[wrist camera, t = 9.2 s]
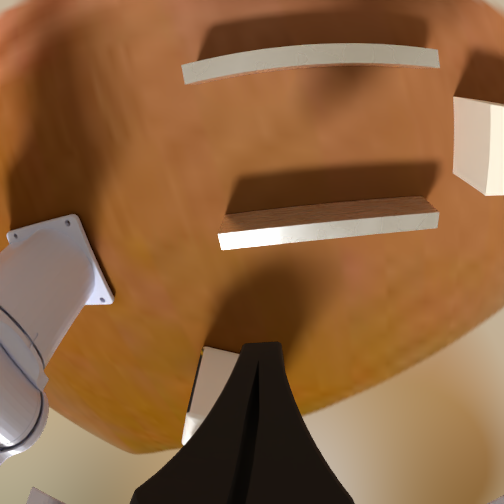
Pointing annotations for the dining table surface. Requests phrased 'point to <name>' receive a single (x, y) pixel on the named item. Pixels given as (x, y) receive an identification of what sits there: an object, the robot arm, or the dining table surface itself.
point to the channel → (329, 214)
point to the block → (479, 144)
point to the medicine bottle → (207, 386)
